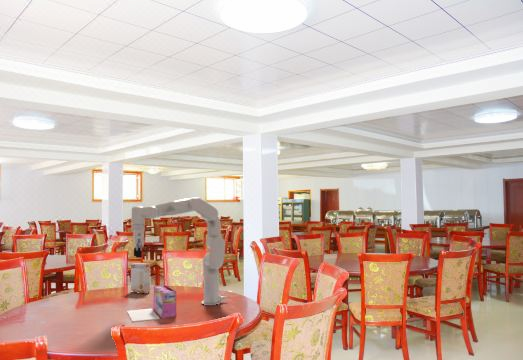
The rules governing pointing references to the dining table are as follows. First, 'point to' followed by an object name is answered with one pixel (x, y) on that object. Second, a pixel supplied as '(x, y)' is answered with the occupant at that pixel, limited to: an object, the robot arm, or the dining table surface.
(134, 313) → the mat
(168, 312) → the gum box
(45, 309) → the dining table surface
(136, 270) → the cracker box
